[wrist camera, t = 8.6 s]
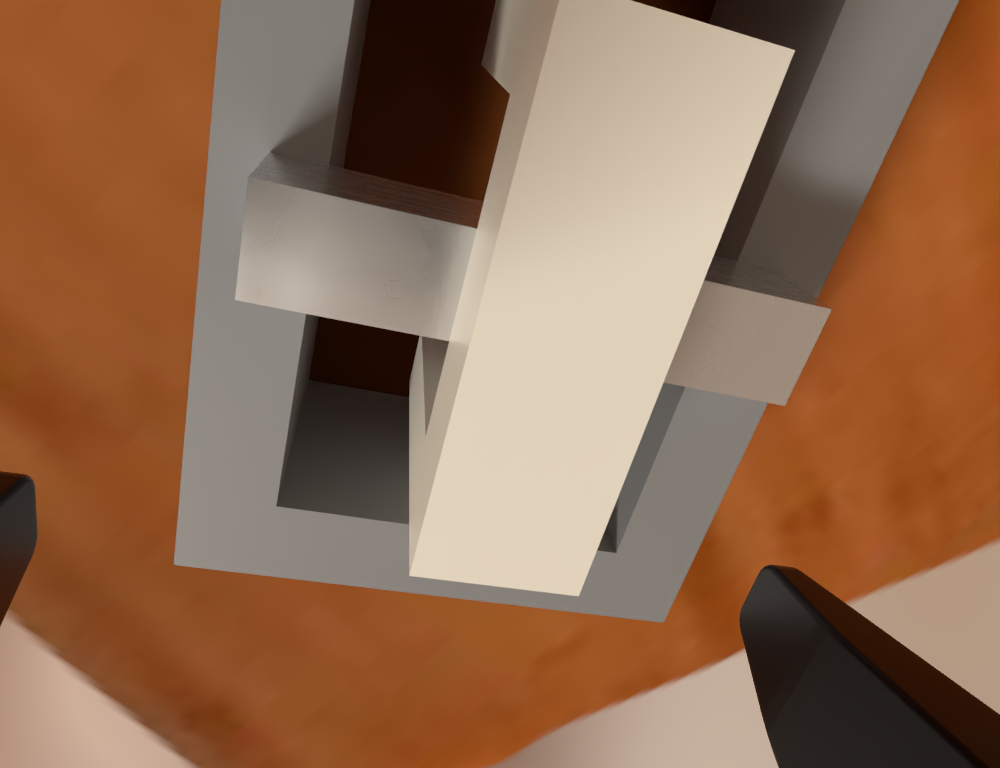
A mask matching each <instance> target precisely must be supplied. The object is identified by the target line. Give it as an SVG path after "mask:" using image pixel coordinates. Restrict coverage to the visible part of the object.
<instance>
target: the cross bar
mask: <svg viewBox="0 0 1000 768" xmlns="http://www.w3.org/2000/svg"><path fill="white" fill-rule="evenodd" d="M482 206H483V201H479V200H475V199H471V198H467V197H462V196H458V195H454V194H450V193H445V192H441V191H437V190H433V189H428V188H424V187H420V186H416V185H411V184H407V183H403V182H399V181H394V180H390V179H386V178H382V177H377V176H373V175H369V174H365V173H360V172H356V171H352V170H348V169H343V168H339V167H335V166H331V165H326V164H322V163H318V162H314V161H309V160H305V159H301V158H297V157H292V156H288V155H284V154H280V153H275V152H271V151H270V152H269V153H268V155H267V156H266V157H265V158H264V159H263V160H262V161H261V163H260V164H259V165H258V166H257V167H256V168H255V170H254V171H253V172H252V173H251V174H250V175H249V176H248V183H247V192H246V202H245V211H244V220H243V229H242V239H241V248H240V257H239V266H238V275H237V285H236V294H235V300H237V301H242V302H248V303H253V304H258V305H263V306H268V307H273V308H279V309H284V310H289V311H294V312H299V313H305V314H310V315H315V316H320V317H325V318H331V319H336V320H341V321H346V322H351V323H357V324H362V325H367V326H372V327H377V328H383V329H388V330H393V331H398V332H403V333H409V334H414V335H419V336H424V337H429V338H434V339H440V340H445V341H449V340H450V336H451V332H452V328H453V324H454V320H455V316H456V312H457V308H458V304H459V300H460V296H461V291H462V287H463V283H464V279H465V275H466V271H467V267H468V263H469V259H470V255H471V251H472V247H473V243H474V239H475V235H476V231H477V227H478V223H479V219H480V215H481V210H482ZM831 310H832V309H831V308H829V307H828V306H827V305H825V304H824V303H823V302H821V301H820V300H819V299H817V298H816V297H815V296H813V295H812V294H811V293H809V292H808V291H807V290H806V289H804V288H803V287H802V286H800V285H799V284H798V283H796V282H795V281H794V280H792V279H791V278H790V277H788V276H787V275H786V274H784V273H783V272H781V271H776V270H772V269H768V268H764V267H760V266H755V265H751V264H747V263H743V262H738V261H734V260H730V259H726V258H721V257H717V256H713V259H712V261H711V264H710V266H709V269H708V271H707V274H706V276H705V279H704V282H703V284H702V287H701V289H700V292H699V294H698V297H697V299H696V302H695V304H694V307H693V309H692V312H691V314H690V317H689V319H688V322H687V324H686V327H685V329H684V332H683V335H682V337H681V340H680V342H679V345H678V347H677V350H676V352H675V355H674V357H673V360H672V362H671V365H670V367H669V370H668V372H667V375H666V377H665V380H664V382H663V383H668V384H673V385H679V386H684V387H689V388H694V389H699V390H705V391H710V392H715V393H720V394H725V395H731V396H736V397H741V398H746V399H751V400H757V401H762V402H767V403H772V404H777V405H783V406H785V404H786V402H787V400H788V398H789V396H790V394H791V392H792V390H793V388H794V386H795V384H796V382H797V380H798V378H799V376H800V374H801V372H802V370H803V367H804V365H805V363H806V361H807V359H808V357H809V355H810V353H811V351H812V349H813V347H814V345H815V343H816V341H817V339H818V337H819V335H820V333H821V331H822V328H823V326H824V324H825V322H826V320H827V318H828V316H829V314H830V312H831Z"/></svg>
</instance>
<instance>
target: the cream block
mask: <svg viewBox="0 0 1000 768" xmlns="http://www.w3.org/2000/svg"><path fill="white" fill-rule="evenodd" d="M794 52H795V50H793V49H789V48H786V47H783V46H780V45H776V44H773V43H770V42H767V41H763V40H760V39H757V38H753V37H750V36H747V35H744V34H740V33H737V32H734V31H730V30H727V29H724V28H721V27H717V26H714V25H711V24H707V23H704V22H701V21H698V20H694V19H691V18H688V17H684V16H681V15H678V14H675V13H671V12H668V11H665V10H661V9H658V8H655V7H652V6H648V5H645V4H642V3H638V2H635V1H632V0H496V2H495V6H494V11H493V15H492V19H491V24H490V28H489V33H488V37H487V41H486V46H485V50H484V55H483V59H482V63H481V65H482V66H483V67H484V68H485V69H486V70H487V71H488V72H489V73H490V74H491V75H492V76H493V77H494V78H495V80H496V81H497V82H498V83H499V84H500V85H501V86H502V87H503V88H504V89H505V90H506V91H507V92H508V93H509V94H510V97H509V101H508V105H507V109H506V113H505V117H504V121H503V125H502V129H501V133H500V138H499V142H498V146H497V150H496V154H495V158H494V162H493V166H492V170H491V174H490V178H489V182H488V186H487V190H486V194H485V198H484V202H483V206H482V210H481V215H480V219H479V223H478V227H477V231H476V235H475V239H474V243H473V247H472V251H471V255H470V259H469V263H468V267H467V271H466V275H465V279H464V283H463V287H462V291H461V296H460V300H459V304H458V308H457V312H456V316H455V320H454V324H453V328H452V332H451V336H450V340H449V341H445V340H440V339H434V338H429V337H424V336H420V337H419V341H418V345H417V350H416V354H415V359H414V363H413V368H412V372H411V376H410V381H409V576H414V577H422V578H431V579H439V580H447V581H455V582H464V583H472V584H480V585H489V586H497V587H505V588H513V589H522V590H530V591H538V592H547V593H555V594H563V595H571V596H579V595H580V592H581V589H582V587H583V584H584V582H585V579H586V577H587V574H588V572H589V569H590V567H591V564H592V562H593V559H594V557H595V554H596V552H597V549H598V547H599V544H600V542H601V539H602V536H603V534H604V531H605V529H606V526H607V524H608V521H609V519H610V516H611V514H612V511H613V509H614V506H615V504H616V501H617V499H618V496H619V494H620V491H621V488H622V486H623V483H624V481H625V478H626V476H627V473H628V471H629V468H630V466H631V463H632V461H633V458H634V456H635V453H636V451H637V448H638V446H639V443H640V441H641V438H642V435H643V433H644V430H645V428H646V425H647V423H648V420H649V418H650V415H651V413H652V410H653V408H654V405H655V403H656V400H657V398H658V395H659V393H660V390H661V388H662V385H663V382H664V380H665V377H666V375H667V372H668V370H669V367H670V365H671V362H672V360H673V357H674V355H675V352H676V350H677V347H678V345H679V342H680V340H681V337H682V335H683V332H684V329H685V327H686V324H687V322H688V319H689V317H690V314H691V312H692V309H693V307H694V304H695V302H696V299H697V297H698V294H699V292H700V289H701V287H702V284H703V282H704V279H705V276H706V274H707V271H708V269H709V266H710V264H711V261H712V259H713V256H714V254H715V251H716V249H717V246H718V244H719V241H720V239H721V236H722V234H723V231H724V229H725V226H726V223H727V221H728V218H729V216H730V213H731V211H732V208H733V206H734V203H735V201H736V198H737V196H738V193H739V191H740V188H741V186H742V183H743V181H744V178H745V176H746V173H747V170H748V168H749V165H750V163H751V160H752V158H753V155H754V153H755V150H756V148H757V145H758V143H759V140H760V138H761V135H762V133H763V130H764V128H765V125H766V122H767V120H768V117H769V115H770V112H771V110H772V107H773V105H774V102H775V100H776V97H777V95H778V92H779V90H780V87H781V85H782V82H783V80H784V77H785V75H786V72H787V69H788V67H789V64H790V62H791V59H792V57H793V54H794Z"/></svg>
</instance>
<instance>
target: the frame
mask: <svg viewBox="0 0 1000 768" xmlns="http://www.w3.org/2000/svg"><path fill="white" fill-rule="evenodd" d="M958 2H959V0H716V3H715V6H714V9H713V12H712V15H711V18H710V20H709V23H708V24H711V25H714V26H717V27H721V28H724V29H727V30H730V31H734V32H737V33H740V34H744V35H747V36H750V37H753V38H757V39H760V40H763V41H767V42H770V43H773V44H776V45H780V46H783V47H786V48H789V49H793V50H795V52H794V54H793V57H792V59H791V62H790V64H789V67H788V69H787V72H786V75H785V77H784V80H783V82H782V85H781V87H780V90H779V92H778V95H777V97H776V100H775V102H774V105H773V107H772V110H771V112H770V115H769V117H768V120H767V122H766V125H765V128H764V130H763V133H762V135H761V138H760V140H759V143H758V145H757V148H756V150H755V153H754V155H753V158H752V160H751V163H750V165H749V168H748V170H747V173H746V176H745V178H744V181H743V183H742V186H741V188H740V191H739V193H738V196H737V198H736V201H735V203H734V206H733V208H732V211H731V213H730V216H729V218H728V221H727V223H726V226H725V229H724V231H723V234H722V236H721V239H720V241H719V244H718V246H717V249H716V251H715V254H714V256H717V257H721V258H726V259H730V260H734V261H738V262H743V263H747V264H751V265H755V266H760V267H764V268H768V269H772V270H776V271H781V272H783V273H784V274H786V275H787V276H788V277H790V278H791V279H792V280H794V281H795V282H796V283H798V284H799V285H800V286H802V287H803V288H804V289H806V290H807V291H808V292H809V293H811V294H812V295H813V296H815V297H816V298H818V296H819V294H820V292H821V290H822V288H823V286H824V284H825V282H826V279H827V277H828V275H829V273H830V271H831V269H832V267H833V265H834V263H835V261H836V258H837V256H838V254H839V252H840V250H841V248H842V246H843V244H844V242H845V239H846V237H847V235H848V233H849V231H850V229H851V227H852V225H853V223H854V221H855V218H856V216H857V214H858V212H859V210H860V208H861V206H862V204H863V202H864V200H865V197H866V195H867V193H868V191H869V189H870V187H871V185H872V183H873V181H874V178H875V176H876V174H877V172H878V170H879V168H880V166H881V164H882V162H883V160H884V157H885V155H886V153H887V151H888V149H889V147H890V145H891V143H892V141H893V138H894V136H895V134H896V132H897V130H898V128H899V126H900V124H901V122H902V120H903V117H904V115H905V113H906V111H907V109H908V107H909V105H910V103H911V101H912V98H913V96H914V94H915V92H916V90H917V88H918V86H919V84H920V82H921V80H922V77H923V75H924V73H925V71H926V69H927V67H928V65H929V63H930V61H931V58H932V56H933V54H934V52H935V50H936V48H937V46H938V44H939V42H940V40H941V37H942V35H943V33H944V31H945V29H946V27H947V25H948V23H949V21H950V18H951V16H952V14H953V12H954V10H955V8H956V6H957V4H958ZM370 3H371V0H221V9H220V21H219V33H218V45H217V57H216V69H215V81H214V93H213V105H212V117H211V128H210V140H209V152H208V164H207V176H206V188H205V200H204V212H203V224H202V236H201V248H200V260H199V272H198V283H197V295H196V307H195V319H194V331H193V343H192V355H191V367H190V379H189V391H188V403H187V415H186V427H185V438H184V450H183V462H182V474H181V486H180V498H179V510H178V522H177V534H176V546H175V558H174V565H180V566H188V567H197V568H205V569H214V570H222V571H230V572H239V573H247V574H256V575H264V576H273V577H281V578H290V579H298V580H307V581H315V582H324V583H332V584H341V585H349V586H357V587H366V588H374V589H383V590H391V591H400V592H408V593H417V594H425V595H434V596H442V597H451V598H459V599H467V600H476V601H484V602H493V603H501V604H510V605H518V606H527V607H535V608H544V609H552V610H561V611H569V612H578V613H586V614H594V615H603V616H611V617H620V618H628V619H637V620H645V621H654V622H662V623H664V620H665V618H666V616H667V614H668V612H669V610H670V608H671V606H672V604H673V602H674V599H675V597H676V595H677V593H678V591H679V589H680V587H681V585H682V583H683V580H684V578H685V576H686V574H687V572H688V570H689V568H690V566H691V564H692V562H693V559H694V557H695V555H696V553H697V551H698V549H699V547H700V545H701V543H702V540H703V538H704V536H705V534H706V532H707V530H708V528H709V526H710V524H711V522H712V519H713V517H714V515H715V513H716V511H717V509H718V507H719V505H720V503H721V500H722V498H723V496H724V494H725V492H726V490H727V488H728V486H729V484H730V482H731V479H732V477H733V475H734V473H735V471H736V469H737V467H738V465H739V463H740V461H741V458H742V456H743V454H744V452H745V450H746V448H747V446H748V444H749V442H750V439H751V437H752V435H753V433H754V431H755V429H756V427H757V425H758V423H759V421H760V418H761V416H762V414H763V412H764V410H765V408H766V406H767V404H768V403H767V402H762V401H757V400H751V399H746V398H741V397H736V396H731V395H725V394H720V393H715V392H710V391H705V390H699V389H694V388H689V387H684V386H679V385H673V384H668V383H663V385H662V388H661V390H660V393H659V395H658V398H657V400H656V403H655V405H654V408H653V410H652V413H651V415H650V418H649V420H648V423H647V425H646V428H645V430H644V433H643V435H642V438H641V441H640V443H639V446H638V448H637V451H636V453H635V456H634V458H633V461H632V463H631V466H630V468H629V471H628V473H627V476H626V478H625V481H624V483H623V486H622V488H621V491H620V494H619V496H618V499H617V501H616V504H615V506H614V509H613V511H612V514H611V516H610V519H609V521H608V524H607V526H606V529H605V531H604V534H603V536H602V539H601V542H600V544H599V547H598V549H597V552H596V554H595V557H594V559H593V562H592V564H591V567H590V569H589V572H588V574H587V577H586V579H585V582H584V584H583V587H582V589H581V592H580V595H579V596H571V595H563V594H555V593H547V592H538V591H530V590H522V589H513V588H505V587H497V586H489V585H480V584H472V583H464V582H455V581H447V580H439V579H431V578H422V577H414V576H409V397H404V396H398V395H392V394H387V393H381V392H375V391H370V390H364V389H358V388H352V387H347V386H341V385H335V384H329V383H324V382H318V381H312V380H309V377H310V371H311V364H312V358H313V352H314V346H315V340H316V334H317V328H318V322H319V316H315V315H310V314H305V313H299V312H294V311H289V310H284V309H279V308H273V307H268V306H263V305H258V304H253V303H248V302H242V301H237V300H235V294H236V285H237V275H238V266H239V257H240V248H241V239H242V229H243V220H244V211H245V202H246V192H247V183H248V176H249V175H250V174H251V173H252V172H253V171H254V170H255V168H256V167H257V166H258V165H259V164H260V163H261V161H262V160H263V159H264V158H265V157H266V156H267V155H268V153H269V152H270V151H271V152H275V153H280V154H284V155H288V156H292V157H297V158H301V159H305V160H309V161H314V162H318V163H322V164H326V165H331V166H335V167H339V168H344V162H345V156H346V150H347V144H348V138H349V132H350V125H351V119H352V113H353V107H354V101H355V95H356V89H357V83H358V76H359V70H360V64H361V58H362V52H363V46H364V40H365V34H366V27H367V21H368V15H369V9H370Z"/></svg>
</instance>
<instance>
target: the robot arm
mask: <svg viewBox="0 0 1000 768" xmlns="http://www.w3.org/2000/svg"><path fill="white" fill-rule="evenodd" d="M36 541H37V517H36V497H35V485H34V482H33V480H32V478H30V477H29V476H28V475H25V474H18V473H10V472H1V471H0V626H1V623H2V621H3V619H4V617H5V615H6V612H7V610H8V608H9V606H10V604H11V601H12V599H13V597H14V595H15V593H16V591H17V588H18V586H19V584H20V582H21V580H22V577H23V575H24V573H25V571H26V569H27V566H28V564H29V562H30V560H31V558H32V555H33V553H34V550H35V546H36ZM740 629H741V633H742V637H743V641H744V645H745V649H746V653H747V657H748V661H749V665H750V669H751V673H752V677H753V681H754V685H755V689H756V693H757V697H758V701H759V705H760V709H761V713H762V717H763V720H764V723H765V727H766V731H767V734H768V737H769V740H770V743H771V747H772V749H773V753H774V756H775V758H776V761H777V764H778V766H779V768H1000V714H998V713H997V712H995V711H994V710H992V709H991V708H990V707H988V706H987V705H986V704H984V703H983V702H981V701H980V700H979V699H977V698H976V697H975V696H973V695H971V694H970V693H969V692H968V691H966V690H965V689H963V688H962V687H961V686H959V685H958V684H957V683H955V682H954V681H952V680H951V679H950V678H948V677H947V676H945V675H944V674H943V673H941V672H940V671H938V670H937V669H936V668H934V667H933V666H931V665H930V664H929V663H927V662H926V661H925V660H923V659H922V658H920V657H919V656H918V655H916V654H915V653H914V652H912V651H911V650H909V649H908V648H907V647H905V646H904V645H902V644H901V643H900V642H898V641H897V640H895V639H894V638H893V637H891V636H890V635H889V634H887V633H886V632H884V631H883V630H882V629H880V628H879V627H877V626H876V625H875V624H873V623H872V622H871V621H869V620H868V619H866V618H865V617H864V616H862V615H861V614H859V613H858V612H857V611H855V610H854V609H853V608H851V607H850V606H848V605H847V604H846V603H844V602H843V601H841V600H840V599H839V598H837V597H836V596H835V595H833V594H832V593H830V592H829V591H828V590H826V589H825V588H823V587H822V586H821V585H819V584H818V583H817V582H815V581H814V580H812V579H811V578H810V577H808V576H807V575H805V574H804V573H803V572H801V571H800V570H798V569H796V568H793V567H786V566H778V565H768V566H765V567H764V568H763V569H762V570H761V571H760V573H759V574H758V576H757V578H756V580H755V582H754V584H753V586H752V588H751V590H750V592H749V594H748V596H747V598H746V600H745V602H744V604H743V606H742V609H741V613H740Z"/></svg>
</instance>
